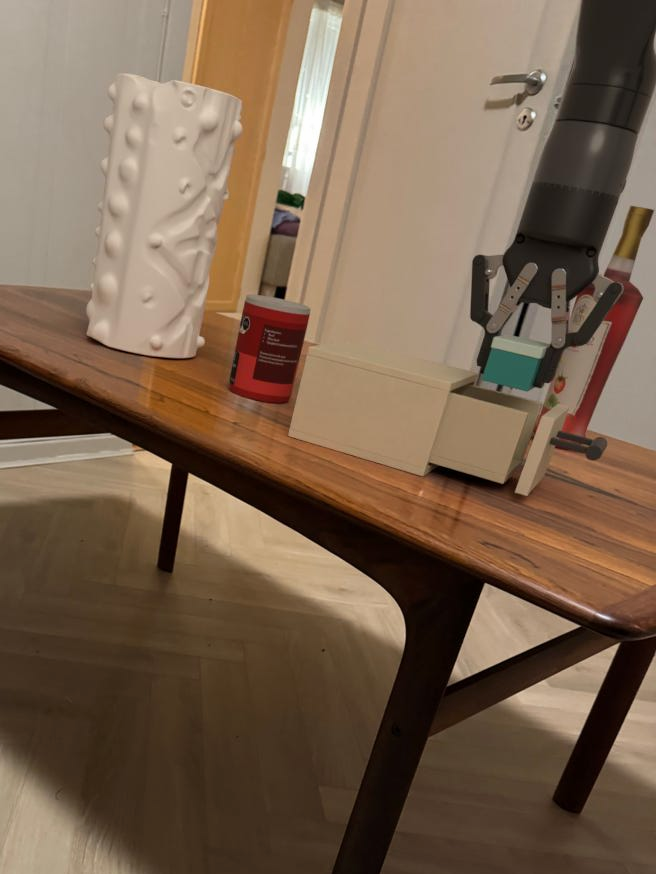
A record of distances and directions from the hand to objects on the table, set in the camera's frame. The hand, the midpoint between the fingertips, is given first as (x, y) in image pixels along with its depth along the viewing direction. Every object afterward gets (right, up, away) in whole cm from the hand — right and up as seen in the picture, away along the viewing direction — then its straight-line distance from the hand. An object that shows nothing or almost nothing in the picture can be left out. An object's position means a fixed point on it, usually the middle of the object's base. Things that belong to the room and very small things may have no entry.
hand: (511, 379), depth 88 cm
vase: (-37, +16, +40) cm, 57 cm away
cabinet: (-12, -5, +9) cm, 15 cm away
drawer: (-1, -8, +4) cm, 9 cm away
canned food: (-22, +5, +24) cm, 33 cm away
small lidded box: (0, 0, 0) cm, 0 cm away
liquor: (+16, 0, +30) cm, 34 cm away
